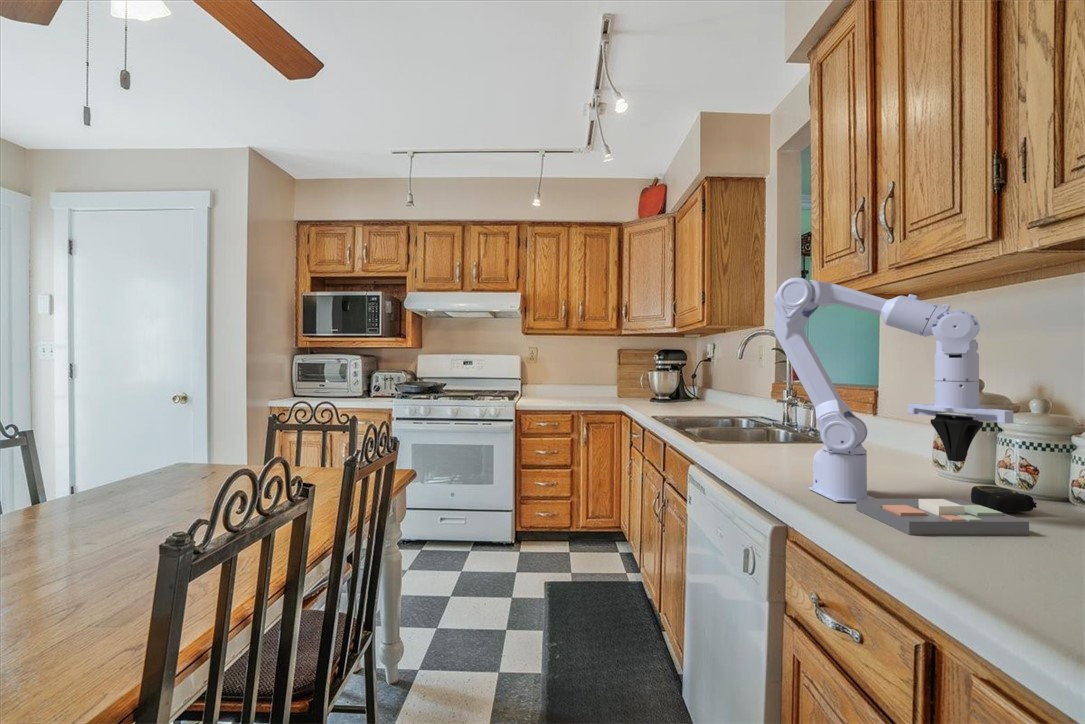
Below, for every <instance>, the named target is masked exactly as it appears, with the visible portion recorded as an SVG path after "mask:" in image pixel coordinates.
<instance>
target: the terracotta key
mask: <svg viewBox="0 0 1085 724" xmlns="http://www.w3.org/2000/svg"><path fill="white" fill-rule="evenodd" d="M882 508H883V509H886V510H888V511H890V512H893V513H895V514H897V515H900V516H926V512H923V511H921V510H918V509H915V508H913V507H910V506H908V505H882Z"/></svg>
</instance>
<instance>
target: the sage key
mask: <svg viewBox="0 0 1085 724" xmlns="http://www.w3.org/2000/svg"><path fill="white" fill-rule="evenodd" d="M962 506H964V509H965V512H968V513H971V514H973V515H976V516H1003V513H1002V512H999V511H996V510H993V509H990V508H987V507H984V506H981V505H962Z"/></svg>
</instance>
